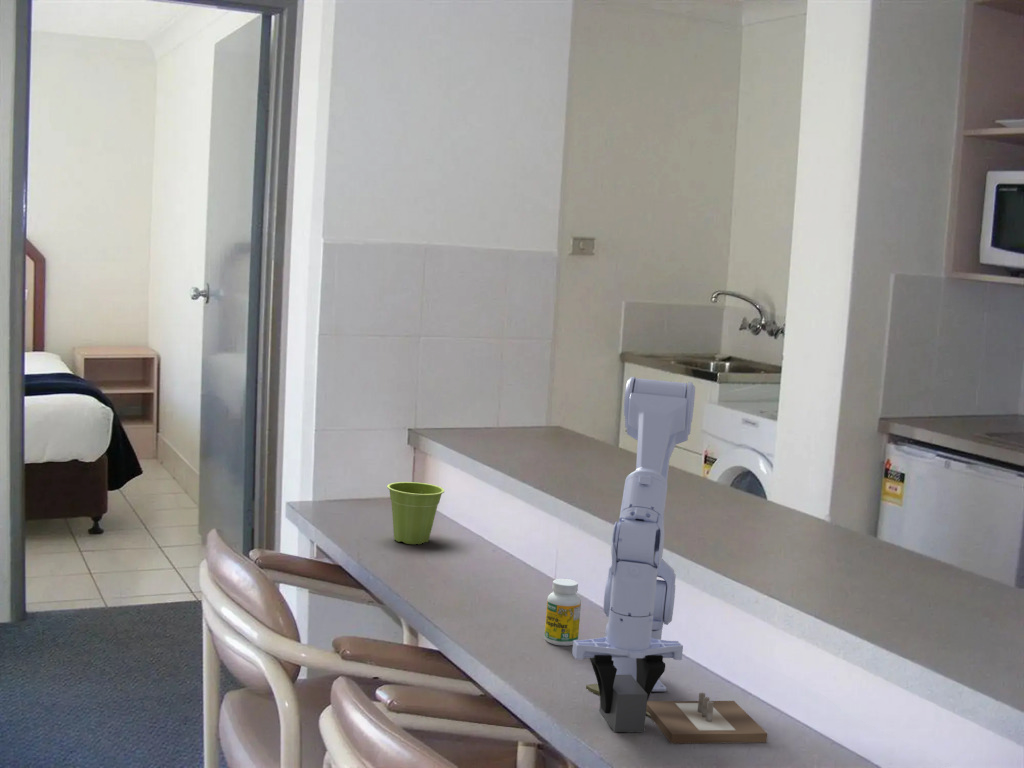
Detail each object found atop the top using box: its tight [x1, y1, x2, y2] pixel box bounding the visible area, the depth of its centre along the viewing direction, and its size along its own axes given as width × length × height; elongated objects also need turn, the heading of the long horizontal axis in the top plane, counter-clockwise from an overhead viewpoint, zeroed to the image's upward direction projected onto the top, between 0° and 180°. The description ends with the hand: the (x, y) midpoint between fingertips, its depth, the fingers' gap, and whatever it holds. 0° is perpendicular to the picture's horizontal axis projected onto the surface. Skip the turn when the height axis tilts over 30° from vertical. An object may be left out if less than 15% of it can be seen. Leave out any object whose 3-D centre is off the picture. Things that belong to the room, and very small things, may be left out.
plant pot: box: [386, 481, 445, 545], centre depth 240 cm, size 12×12×11 cm
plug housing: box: [598, 675, 648, 733], centre depth 154 cm, size 9×4×5 cm, turn 12°
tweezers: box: [585, 683, 651, 719], centre depth 160 cm, size 12×2×1 cm, turn 38°
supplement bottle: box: [544, 578, 582, 647], centre depth 183 cm, size 5×5×10 cm
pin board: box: [646, 692, 768, 744], centre depth 154 cm, size 11×13×4 cm
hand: (622, 710), depth 153 cm, fingers closed on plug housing, 4 cm apart
